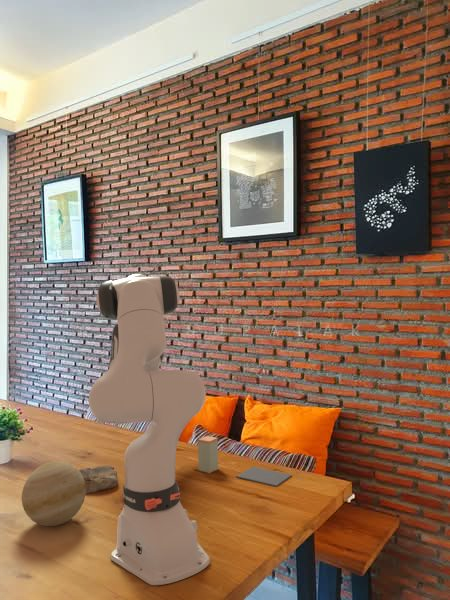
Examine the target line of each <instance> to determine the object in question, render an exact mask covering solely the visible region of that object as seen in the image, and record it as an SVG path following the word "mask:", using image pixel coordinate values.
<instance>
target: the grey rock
mask: <svg viewBox="0 0 450 600" xmlns="http://www.w3.org/2000/svg"><path fill="white" fill-rule="evenodd" d="M78 470H79V471H80V473H81V474H82V476H83V478H84V481H85V486H86V495H88V494H90V492H93V493H96V492H99V491H103V490H107V489H112V488H115V487H116V486H118V485H119V479H118V471H116V470H115V467H114V466H111V465H103V466H101V465H100V466H96V467H92V468H90V467H89V468H82V469H78ZM87 493H88V494H87Z"/></svg>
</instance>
